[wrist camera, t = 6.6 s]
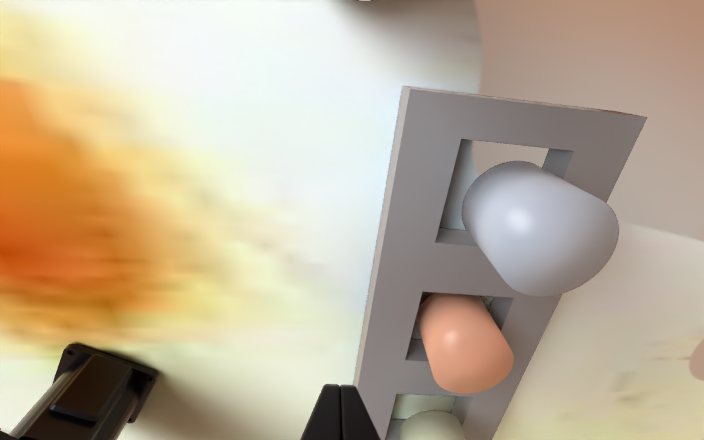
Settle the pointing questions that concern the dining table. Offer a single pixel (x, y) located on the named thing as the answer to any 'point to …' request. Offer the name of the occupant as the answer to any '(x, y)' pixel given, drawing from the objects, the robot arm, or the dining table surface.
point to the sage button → (431, 427)
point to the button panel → (465, 239)
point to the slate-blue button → (538, 228)
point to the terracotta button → (463, 343)
